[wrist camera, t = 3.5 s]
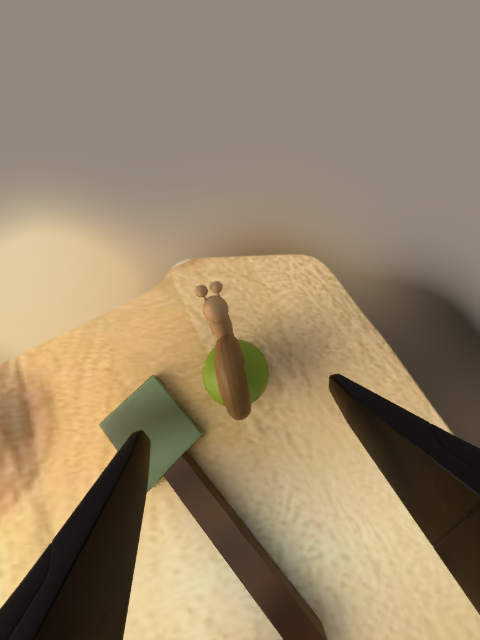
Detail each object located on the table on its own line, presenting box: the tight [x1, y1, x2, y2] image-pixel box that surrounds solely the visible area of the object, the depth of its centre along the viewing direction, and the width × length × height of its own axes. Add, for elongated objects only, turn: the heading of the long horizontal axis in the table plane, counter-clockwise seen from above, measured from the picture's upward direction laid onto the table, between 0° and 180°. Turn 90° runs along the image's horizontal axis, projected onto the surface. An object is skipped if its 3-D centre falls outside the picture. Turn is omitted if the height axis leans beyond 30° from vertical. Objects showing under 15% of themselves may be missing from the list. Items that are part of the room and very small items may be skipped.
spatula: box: [99, 375, 327, 640], centre depth 15 cm, size 22×6×1 cm, turn 45°
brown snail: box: [195, 281, 269, 420], centre depth 13 cm, size 5×6×12 cm
